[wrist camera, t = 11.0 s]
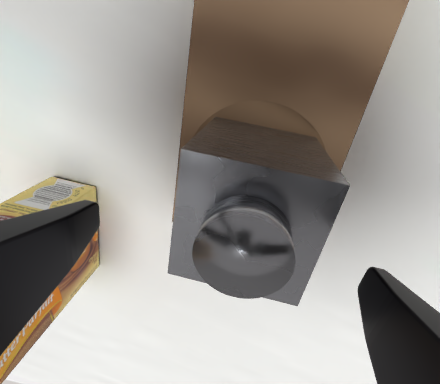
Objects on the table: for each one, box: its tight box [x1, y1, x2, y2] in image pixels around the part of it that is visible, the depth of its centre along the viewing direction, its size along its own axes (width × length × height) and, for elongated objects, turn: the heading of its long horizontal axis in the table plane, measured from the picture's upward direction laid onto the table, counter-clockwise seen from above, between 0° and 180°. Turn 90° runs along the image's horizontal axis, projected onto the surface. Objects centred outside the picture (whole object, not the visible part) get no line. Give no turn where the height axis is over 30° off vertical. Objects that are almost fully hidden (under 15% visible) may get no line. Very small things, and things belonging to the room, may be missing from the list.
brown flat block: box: [172, 0, 409, 222], centre depth 14 cm, size 22×10×5 cm, turn 170°
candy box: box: [0, 177, 99, 384], centre depth 17 cm, size 9×4×15 cm, turn 171°
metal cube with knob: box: [168, 117, 350, 306], centre depth 13 cm, size 6×6×8 cm
